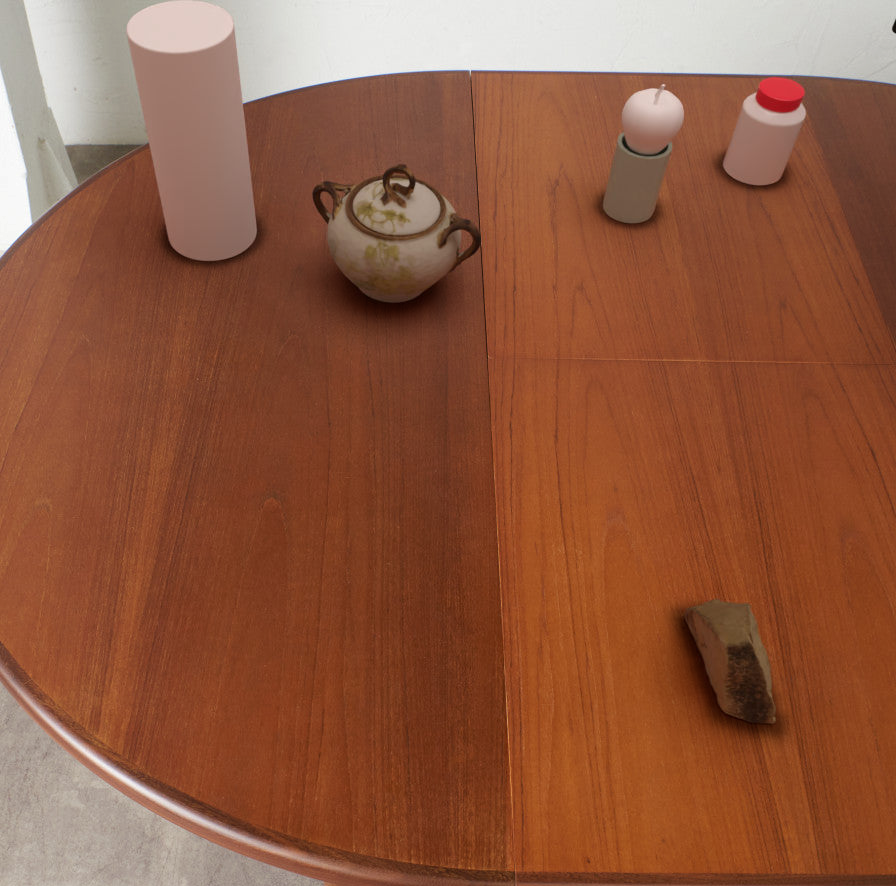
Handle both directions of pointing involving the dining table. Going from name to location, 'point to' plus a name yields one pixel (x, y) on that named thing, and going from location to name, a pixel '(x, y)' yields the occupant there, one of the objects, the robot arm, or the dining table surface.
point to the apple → (651, 120)
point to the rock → (734, 658)
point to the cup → (634, 183)
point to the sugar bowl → (394, 234)
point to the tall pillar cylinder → (195, 125)
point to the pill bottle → (766, 132)
